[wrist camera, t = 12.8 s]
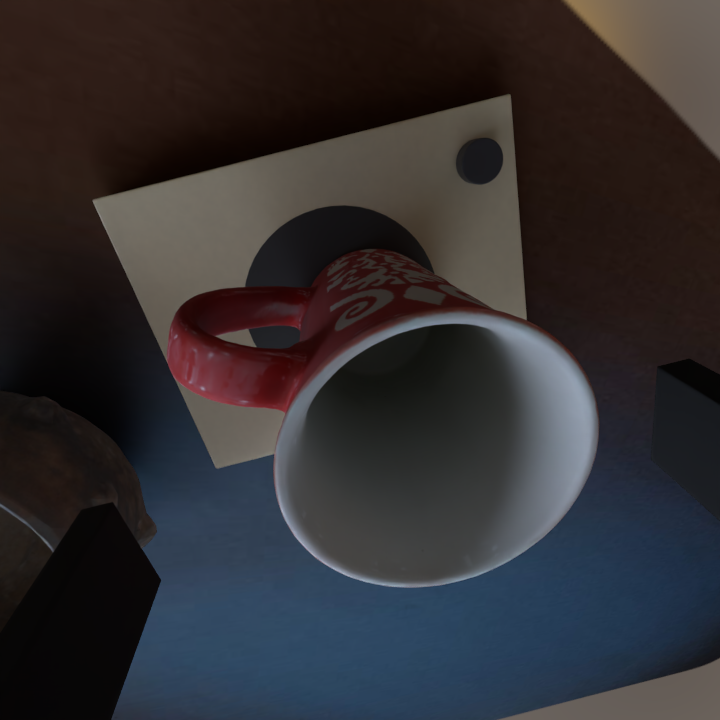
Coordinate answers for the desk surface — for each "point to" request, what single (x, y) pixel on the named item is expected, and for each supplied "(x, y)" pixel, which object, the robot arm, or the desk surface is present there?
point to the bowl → (54, 487)
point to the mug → (400, 416)
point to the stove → (324, 232)
